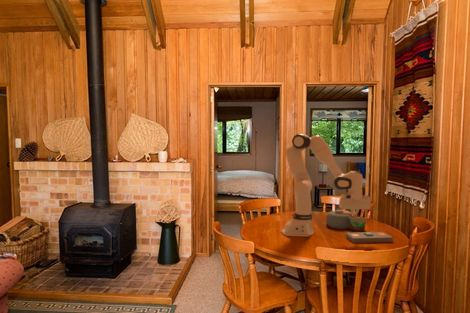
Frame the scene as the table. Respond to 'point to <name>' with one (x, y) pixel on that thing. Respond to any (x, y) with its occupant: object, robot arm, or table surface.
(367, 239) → the button board
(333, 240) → the table surface
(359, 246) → the table surface
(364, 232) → the olive green button
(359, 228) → the food container
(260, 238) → the table surface
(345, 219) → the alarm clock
